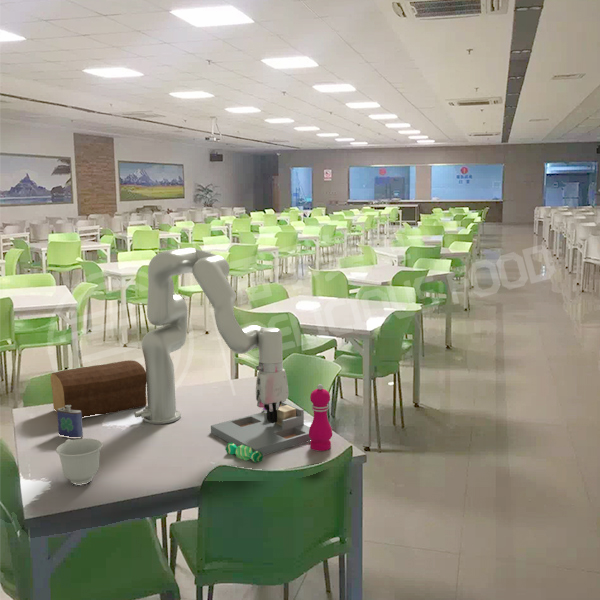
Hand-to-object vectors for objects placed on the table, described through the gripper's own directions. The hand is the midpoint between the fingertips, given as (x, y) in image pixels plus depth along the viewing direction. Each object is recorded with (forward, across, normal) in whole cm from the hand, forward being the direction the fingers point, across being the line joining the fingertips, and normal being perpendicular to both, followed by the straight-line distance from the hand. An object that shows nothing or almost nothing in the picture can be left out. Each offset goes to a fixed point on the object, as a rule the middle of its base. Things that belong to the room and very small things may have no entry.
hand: (272, 421), depth 216 cm
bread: (+4, -34, +60) cm, 69 cm away
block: (+2, +5, 0) cm, 5 cm away
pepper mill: (+4, +5, -19) cm, 20 cm away
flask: (+4, -52, +39) cm, 65 cm away
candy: (+4, -18, -10) cm, 21 cm away
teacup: (+4, -61, +5) cm, 62 cm away
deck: (+4, -3, 0) cm, 5 cm away
